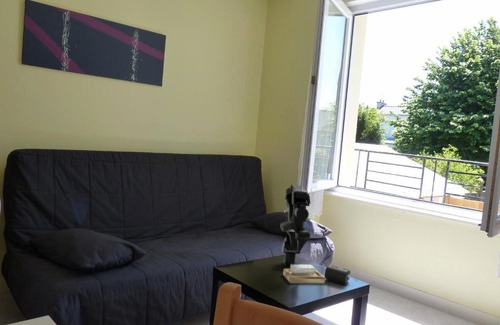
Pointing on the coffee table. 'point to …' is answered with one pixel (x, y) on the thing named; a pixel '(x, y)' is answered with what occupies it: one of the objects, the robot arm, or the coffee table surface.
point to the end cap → (337, 275)
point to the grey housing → (302, 270)
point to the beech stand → (304, 277)
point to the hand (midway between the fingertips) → (295, 248)
